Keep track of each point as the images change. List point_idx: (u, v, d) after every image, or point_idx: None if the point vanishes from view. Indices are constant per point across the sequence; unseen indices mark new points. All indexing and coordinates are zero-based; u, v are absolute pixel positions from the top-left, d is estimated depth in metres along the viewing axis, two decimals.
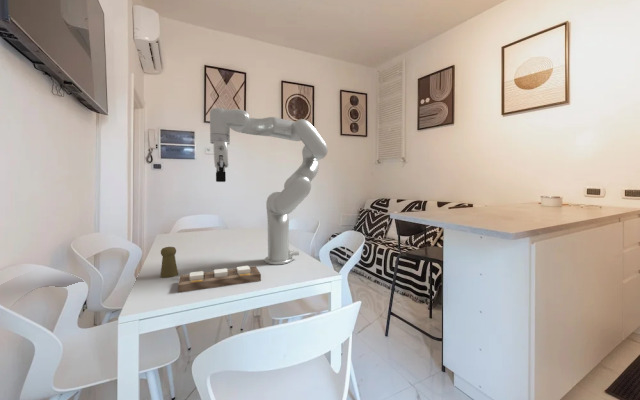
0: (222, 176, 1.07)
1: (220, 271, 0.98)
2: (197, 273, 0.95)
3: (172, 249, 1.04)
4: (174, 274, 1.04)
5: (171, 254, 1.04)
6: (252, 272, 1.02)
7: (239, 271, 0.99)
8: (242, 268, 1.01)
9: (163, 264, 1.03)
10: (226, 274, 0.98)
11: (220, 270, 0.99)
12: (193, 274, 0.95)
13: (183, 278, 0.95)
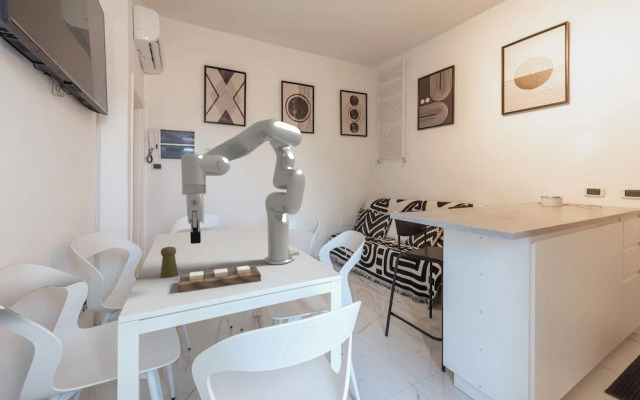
0: (196, 237, 0.93)
1: (220, 271, 0.98)
2: (197, 273, 0.95)
3: (172, 249, 1.04)
4: (174, 274, 1.04)
5: (171, 254, 1.04)
6: (252, 272, 1.02)
7: (239, 271, 0.99)
8: (242, 268, 1.01)
9: (163, 264, 1.03)
10: (226, 274, 0.98)
11: (220, 270, 0.99)
12: (193, 274, 0.95)
13: (183, 278, 0.95)
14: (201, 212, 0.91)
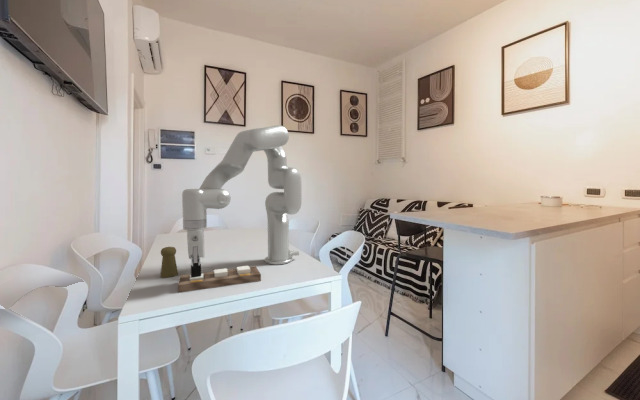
0: (197, 271, 0.94)
1: (220, 271, 0.98)
2: None
3: (172, 249, 1.04)
4: (174, 274, 1.04)
5: (171, 254, 1.04)
6: (252, 272, 1.02)
7: (239, 271, 0.99)
8: (242, 268, 1.01)
9: (163, 264, 1.03)
10: (226, 274, 0.98)
11: (220, 270, 0.99)
12: None
13: (183, 278, 0.95)
14: (202, 247, 0.91)
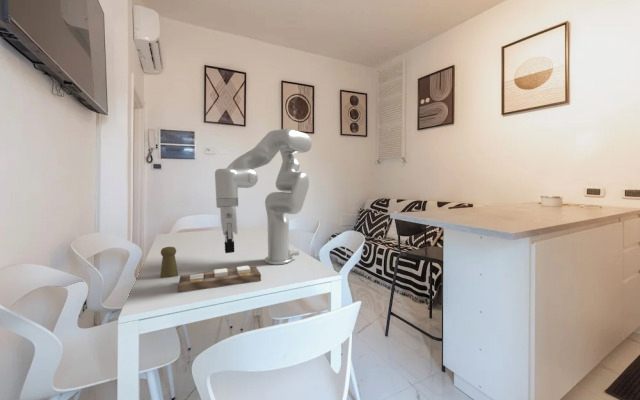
0: (230, 247, 0.99)
1: (220, 271, 0.98)
2: (197, 276, 0.96)
3: (172, 249, 1.04)
4: (174, 274, 1.04)
5: (171, 254, 1.04)
6: (252, 272, 1.02)
7: (239, 271, 0.99)
8: (242, 268, 1.01)
9: (163, 264, 1.03)
10: (226, 274, 0.98)
11: (220, 270, 0.99)
12: (193, 277, 0.95)
13: (183, 278, 0.95)
14: (235, 224, 0.95)
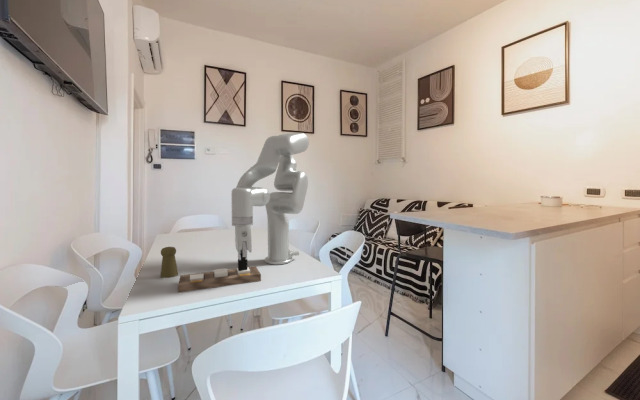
0: (244, 265, 1.00)
1: (220, 271, 0.98)
2: (197, 276, 0.96)
3: (172, 249, 1.04)
4: (174, 274, 1.04)
5: (171, 254, 1.04)
6: (252, 272, 1.02)
7: (239, 273, 0.99)
8: (242, 270, 1.02)
9: (163, 264, 1.03)
10: (226, 274, 0.98)
11: (220, 270, 0.99)
12: (193, 277, 0.95)
13: (183, 278, 0.95)
14: (250, 242, 0.97)
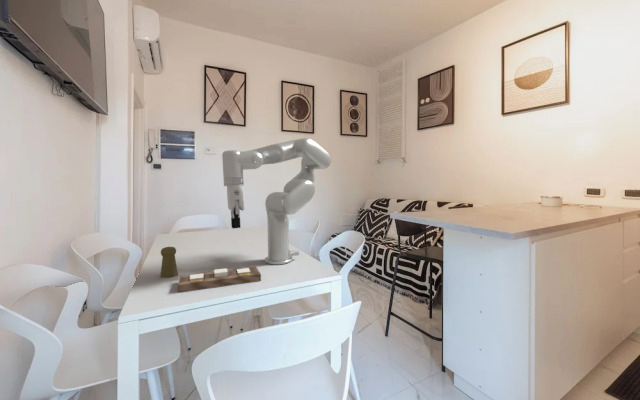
0: (237, 223, 1.08)
1: (220, 271, 0.98)
2: (197, 276, 0.96)
3: (172, 249, 1.04)
4: (174, 274, 1.04)
5: (171, 254, 1.04)
6: (252, 272, 1.02)
7: (239, 273, 1.00)
8: (242, 270, 1.02)
9: (163, 264, 1.03)
10: (226, 274, 0.98)
11: (220, 270, 0.99)
12: (193, 277, 0.95)
13: (183, 278, 0.95)
14: (242, 201, 1.05)
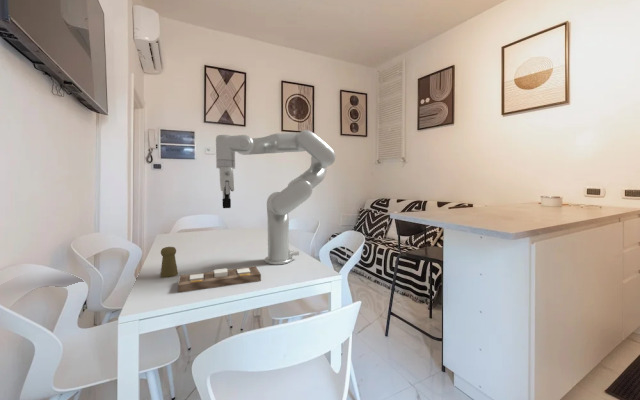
0: (227, 203, 1.15)
1: (220, 271, 0.98)
2: (197, 276, 0.96)
3: (172, 249, 1.04)
4: (174, 274, 1.04)
5: (171, 254, 1.04)
6: (252, 272, 1.02)
7: (239, 273, 1.00)
8: (242, 270, 1.02)
9: (163, 264, 1.03)
10: (226, 274, 0.98)
11: (220, 270, 0.99)
12: (193, 277, 0.95)
13: (183, 278, 0.95)
14: (232, 182, 1.12)
